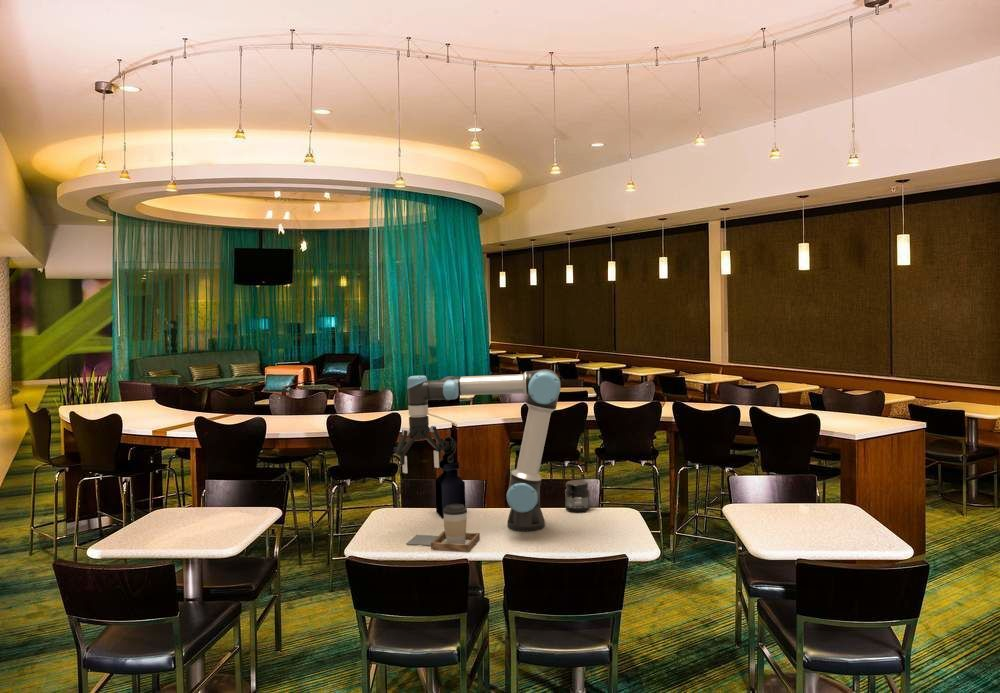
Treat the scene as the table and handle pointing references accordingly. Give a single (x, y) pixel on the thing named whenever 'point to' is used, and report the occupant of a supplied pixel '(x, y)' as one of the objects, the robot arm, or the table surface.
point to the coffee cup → (455, 523)
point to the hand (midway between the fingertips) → (421, 470)
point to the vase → (448, 479)
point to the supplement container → (577, 496)
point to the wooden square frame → (455, 547)
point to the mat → (422, 540)
